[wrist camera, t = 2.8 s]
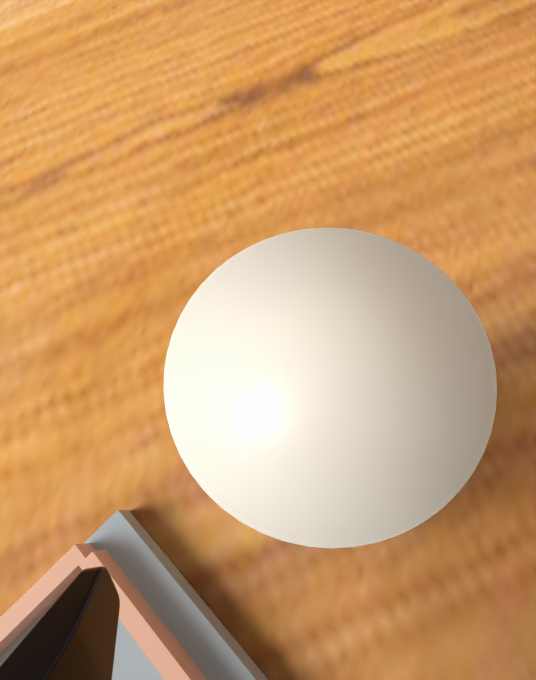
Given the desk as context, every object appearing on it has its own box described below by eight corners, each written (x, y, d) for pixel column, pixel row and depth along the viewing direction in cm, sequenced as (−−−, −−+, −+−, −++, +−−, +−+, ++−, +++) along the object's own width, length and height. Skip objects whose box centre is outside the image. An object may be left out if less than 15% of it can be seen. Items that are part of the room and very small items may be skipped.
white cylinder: (411, 463, 19) (579, 365, 7) (321, 562, 18) (335, 648, 6) (316, 376, 21) (318, 169, 8) (229, 463, 20) (90, 374, 8)
